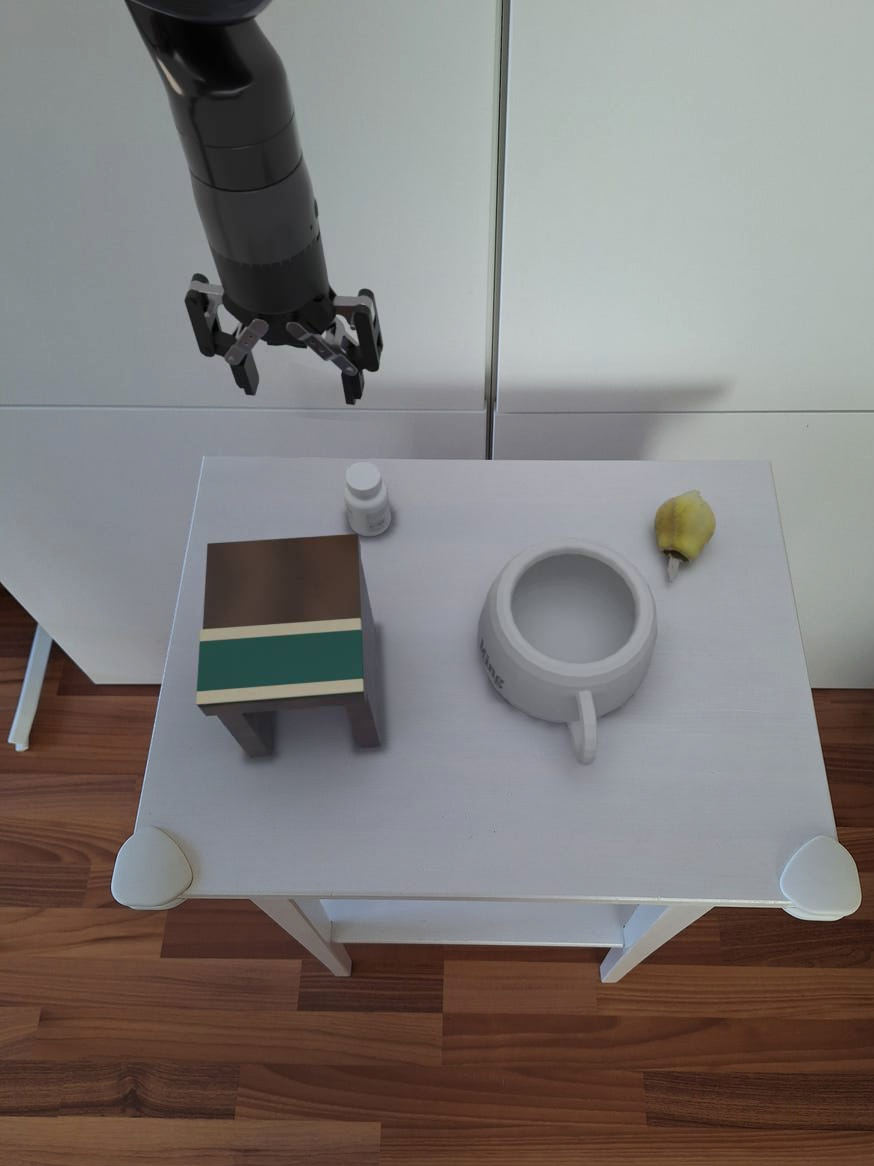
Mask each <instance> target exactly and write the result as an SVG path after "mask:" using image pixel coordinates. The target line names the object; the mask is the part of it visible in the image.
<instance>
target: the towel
mask: <svg viewBox="0 0 874 1166" xmlns="http://www.w3.org/2000/svg"><path fill="white" fill-rule="evenodd" d="M198 640H199V645H198V661H197V662H198V663H197V679H196V680H197V681H196V694H195V695H196V696H195V697H196V698H195V704H196V706H197V707H198V708H199V707H203V706H215V705H228V704H241V703H253V702H266V701H278V700H291V699H304V698H316V697H329V696H341V695H354V694H364V676H363V651H362V625H361V618H353V619H339V620H325V621H312V622H298V623H284V624H270V625H257V626H243V627H229V628H215V629H203V628H202V629H199V639H198Z"/></svg>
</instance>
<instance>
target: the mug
mask: <svg viewBox="0 0 874 1166" xmlns="http://www.w3.org/2000/svg"><path fill="white" fill-rule="evenodd" d="M657 618H658V617H657V604H656V601H655V599H654V596H653V593H652V590H651V587H650V585H649V583H648V582H647V580H646V579H645V577H644V576H643V574H642V573H641V571H640V570H639V569H638V568H637V566H636V565H635V564H634V563H633V562H632V561H630V560H629V559H628V558H627V557H626V556H624V554H623V553H621V552H619V551H617V550H615V549H614V548H612V547H611V546H608V545H606V544H605V543H603V542H599V541H595V540H591V539H588V538H585V537H568V536H562V537H557V538H551V539H546V540H543V541H540V542H538V543H536V544H533V545H530V546H528V547H526V548H524V549H522V550H521V551H519V553H517V554H516V555H515V556H513V557H512V558H511V559H510V560H508V561H507V563H506V564H505V565H504V566H503V568H502V569H501V570H500V572H499V573H498V574H497V576H496V577H495V579H494V580H493V582H492V583H491V584H490V586H489V589H488V592H487V594H486V597H485V599H484V603H483V605H482V608H481V611H480V614H479V618H478V622H477V641H476V645H477V649H478V653H479V657H480V661H481V665H482V667H483V669H484V671H485V674H486V675H487V677H488V679H489V680H490V682H491V684H492V685H493V687H494V689H495V690H496V691H497V692H498V693H499V695H501V696H502V697H503V698H504V699H505V700H506V701H507V703H509V704H510V705H511V706H513V707H515V708H516V709H518V710H520V711H521V712H523V713H525V714H527V715H528V716H530V717H533V718H537V719H540V720H544V721H546V722H550V723H557V724H558V723H561V724H564V723H566V724H567V727H568V732H569V739H570V743H571V747H572V751H573V754H574V756H575V758H576V761H577V763H578V764H579V765H582V766H585V767H587V766H589V765H591V764H593V763H594V762H595V761H596V756H597V752H598V743H599V742H598V738H599V734H598V733H599V732H598V719H599V718H600V717H602V716H604V715H607V714H609V713H610V712H613V711H614V710H616V709H618V708H619V707H621V706H622V705H623V704H624V703H625V702H626V701H627V700H628V699H629V698H631V697H632V696H633V695H634V694H635V693H636V692H637V691H638V689H639V688H640V686H641V684H642V682H643V681H644V679H645V677H646V675H647V673H648V671H649V668H650V667H651V664H652V659H653V656H654V655H653V654H654V650H655V647H656V642H657V637H658V619H657Z"/></svg>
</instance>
